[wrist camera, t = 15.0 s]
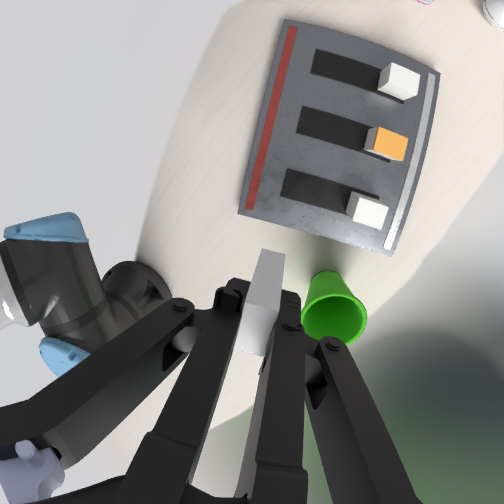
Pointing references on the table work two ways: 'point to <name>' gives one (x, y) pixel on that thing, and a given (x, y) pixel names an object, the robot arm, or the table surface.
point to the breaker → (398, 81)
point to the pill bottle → (424, 2)
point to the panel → (335, 137)
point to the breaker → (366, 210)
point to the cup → (332, 309)
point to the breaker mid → (386, 143)
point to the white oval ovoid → (494, 13)
